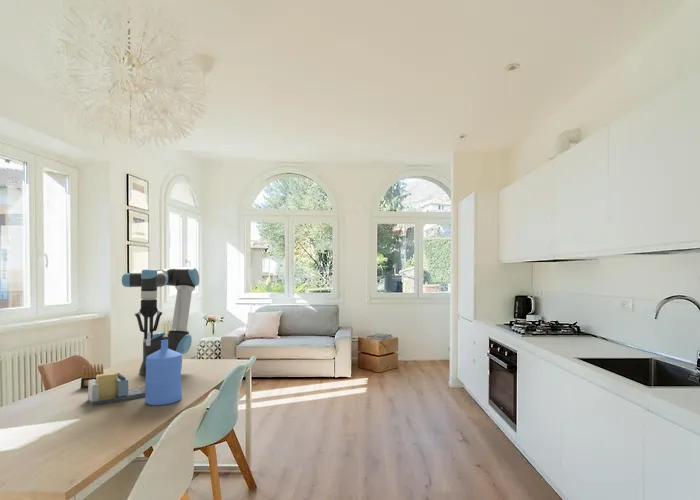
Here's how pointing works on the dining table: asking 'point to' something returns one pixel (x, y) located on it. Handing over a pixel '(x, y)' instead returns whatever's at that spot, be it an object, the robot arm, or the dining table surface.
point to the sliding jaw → (122, 385)
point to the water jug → (163, 376)
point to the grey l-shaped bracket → (95, 400)
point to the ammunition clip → (90, 374)
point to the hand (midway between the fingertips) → (148, 345)
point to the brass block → (107, 384)
